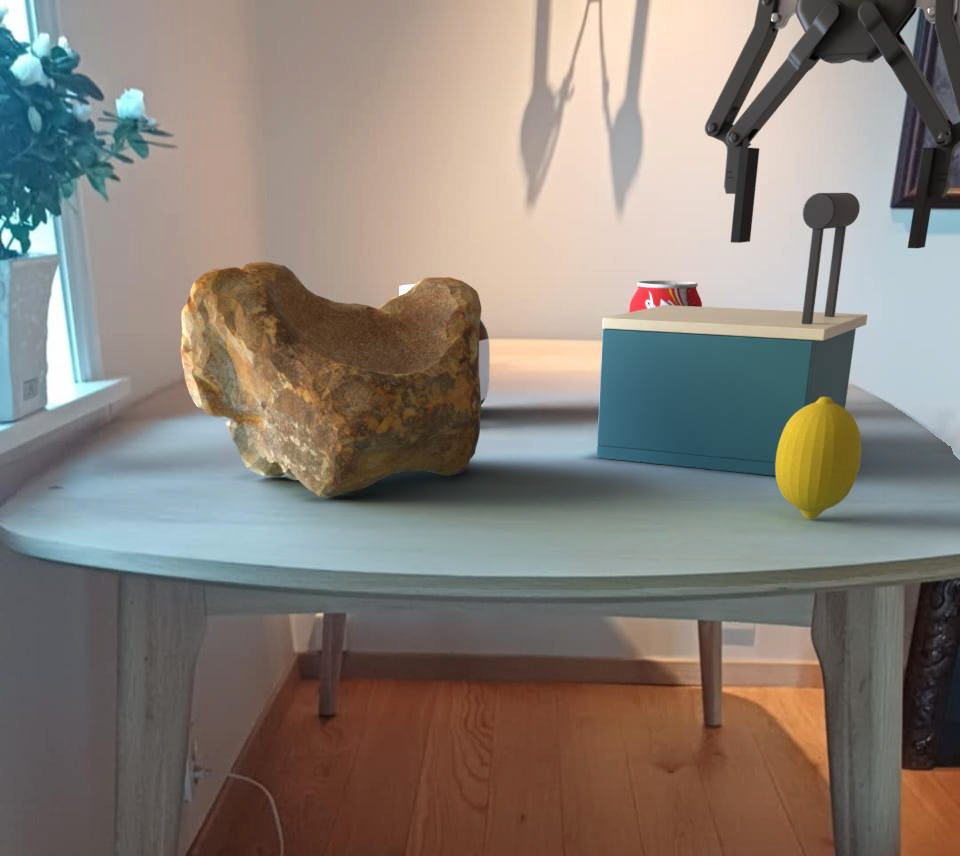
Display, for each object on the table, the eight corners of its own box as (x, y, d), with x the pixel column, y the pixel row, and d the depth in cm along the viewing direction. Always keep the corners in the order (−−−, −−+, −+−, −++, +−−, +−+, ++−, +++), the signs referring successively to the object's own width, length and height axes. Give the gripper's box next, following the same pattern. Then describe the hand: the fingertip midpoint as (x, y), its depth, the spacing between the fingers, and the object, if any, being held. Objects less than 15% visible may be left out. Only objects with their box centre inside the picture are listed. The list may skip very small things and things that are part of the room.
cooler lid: (866, 324, 104) (884, 192, 99) (823, 341, 93) (842, 193, 88) (663, 314, 111) (672, 191, 107) (602, 328, 100) (608, 191, 96)
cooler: (839, 449, 109) (856, 325, 104) (796, 478, 98) (813, 341, 93) (655, 432, 116) (663, 315, 111) (596, 457, 105) (602, 329, 100)
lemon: (794, 531, 83) (809, 404, 79) (755, 512, 88) (767, 392, 84) (867, 525, 84) (886, 400, 81) (825, 507, 89) (841, 388, 85)
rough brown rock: (213, 527, 86) (201, 292, 78) (182, 461, 99) (169, 254, 92) (528, 514, 93) (547, 297, 85) (460, 454, 107) (470, 262, 99)
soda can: (618, 418, 123) (625, 284, 117) (627, 407, 129) (635, 279, 123) (690, 421, 121) (701, 285, 116) (697, 410, 127) (707, 280, 122)
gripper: (679, -93, 89) (656, 241, 99) (1057, -123, 78) (988, 252, 88) (713, -75, 94) (688, 238, 104) (1068, -102, 84) (1003, 248, 94)
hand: (825, 245), depth 97 cm, fingers open, 13 cm apart
